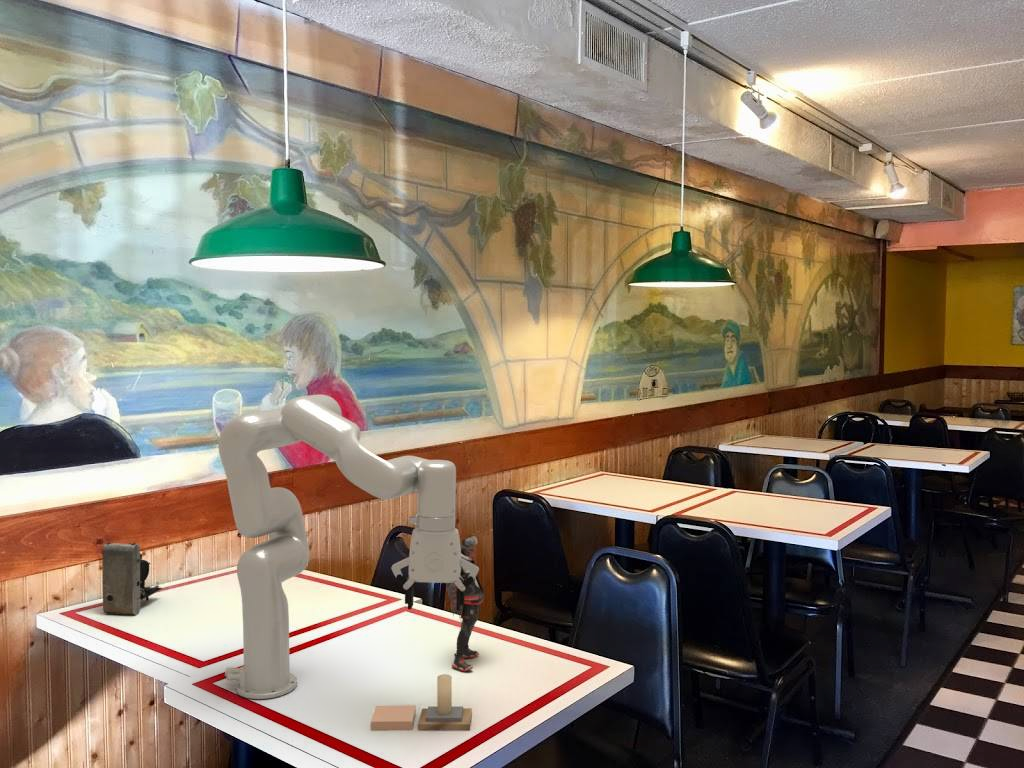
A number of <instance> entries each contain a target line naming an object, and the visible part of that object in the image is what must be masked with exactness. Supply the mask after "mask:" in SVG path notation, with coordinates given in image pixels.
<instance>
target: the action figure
mask: <svg viewBox="0 0 1024 768" xmlns="http://www.w3.org/2000/svg"><path fill="white" fill-rule="evenodd" d="M478 543H479V540H478V538H477V537H476V536H468V537H465V538H463V539H462V540H461V545H460V547H461V558H463V559H465V560H467V561H468V562H470V563H472V564H474V565H476V562H475V560H474V555H475V553H476V551H475V546H476V545H477V544H478ZM469 574H470V571H469V570H467V569H465V568H463V567H462V566H461V573H460V576H461V577H462V578H463V580H465V579H466V578H467V577H468V576H469ZM445 585H446V590H447V594H448V597H449V599H450V605H449V606H450V611H451V612H452V616H453V617H454V616H455V614H458V616H459V617H458V618H459V621H460V622H461V624H460V626H461V627H460V628H459V631H458V635H457V638H456V652H454V654H453V655H454V660H453V661H452V662H451V667H452V669H456V670H459V671H461V672H468V671H471V670H472V669H474V667H473V665H472V664H468V663H467V662H466V661H465V659H466V660H467V659H475V658H478V657H479V655H480V653H479V651H478V650H472V649H470V648H469V647H470V645H469V641H470V638H471V635H472V631H473V629H474V627H475V624H476V623H477V621H478V619H479V616H478V615H479V614H480V613H481V604H482V603H483V602H484V599H485V598H484V597H485V596H484V595H485V594H486V593H485V590H484V587H483V586H482V584H481V581H480V579H479V576H478V574H477V575H476V577H475V579H474V580H473V582H472V583H471V584H470V585H469V586H468V587H467V588H466V589H465V596H464V605H461V609H460V611H457V610H456V603H457V589H458V587H457V586H456V585H455V583H454V582H453V583H445Z"/></svg>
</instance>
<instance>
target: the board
mask: <svg viewBox="0 0 1024 768" xmlns="http://www.w3.org/2000/svg"><path fill="white" fill-rule="evenodd" d="M427 710H428V707H426V708H424V707H423V708H421V710H420V715H419V720H418V723H417V731H470V730H471V725H472V715H473V711H472V710H473V708H472V707H469V708H468V707H467V708H466V707H463V715H462V722H425V717H426V714H427Z"/></svg>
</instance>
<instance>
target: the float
mask: <svg viewBox="0 0 1024 768" xmlns="http://www.w3.org/2000/svg"><path fill="white" fill-rule="evenodd" d="M436 679H437V680H436V682H437V683H436V684H437V685H436V689H437V693H436V695H437V701H436V703H437V706H435V705H434V706H427V708H428V710H427V714H426V717H425V722H462V715H463V708H464V706H463V705H462V706H457V705H455V706H453V705H452V704H453V701H452V686H453V685H452V684H453V683H452V675H450V674H445V673H444V674H443V673H442V674H439V675H437V678H436Z"/></svg>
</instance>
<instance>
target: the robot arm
mask: <svg viewBox="0 0 1024 768" xmlns="http://www.w3.org/2000/svg"><path fill="white" fill-rule="evenodd" d="M360 440H361V428H360V427H359V426H358V425H357V423H355V422H353V421H351V420H349V419H348V418H346V417H343V415H342V409H341V406H340V405H339V403H338V401H336V400H335V399H334V398H333V397H331V396H329V395H327V394H326V395H325V394H312V395H303V396H301V395H300V396H296V397H294V398H291V399H290V400H288V401H287V402H286V403H285V404H284V406H283V407H281V408H275V409H274V408H273V409H268V410H267V409H265V410H256V411H250V412H245V413H242V414H240V415H237V416H235V417H233V418H232V419H230V420H229V421H228V422H227V423H226V424H225V426H224V427H223V428H222V430H221V432H220V434H219V437H218V455H219V457H220V458H219V459H220V461H221V464H222V467H223V470H224V474H225V477H226V482H227V488H228V489H227V490H228V494H229V498H230V504H231V508H232V515H233V519H234V522H235V523H234V524H235V526H236V529H237V532H238V534H240V535H241V536H242V537H244V538H246V539H257V538H260V537H264V536H267V535H268V537H269V539H268V540H265V541H261V542H260V543H257V544H255V545H252V546H251V547H249V548H248V549H246V550H244V552H242V554H241V555H240V557H239V559H238V561H237V564H236V565H237V566H236V575H237V579H238V580H237V581H238V584H239V588H240V594H241V607H242V628H243V629H242V632H243V633H242V640H243V641H242V642H243V666H240V667H226V668H225V671H224V676H225V677H226V680H227V681H237V682H238V683H237V684H236V692H237V694H238V695H240V696H241V697H243V698H247V699H253V700H264V699H265V700H267V699H273V698H277V697H280V696H285V695H286V694H288V693H290V692H292V691H294V689H296V687H297V685H298V677H297V676H296V675H295V674H293V673H291V672H290V671H291V669H290V668H291V667H290V619H289V618H290V616H289V615H290V614H289V602H288V598H287V595H286V593H285V591H284V588H283V584H282V583H283V582H285V581H287V580H289V579H291V578H294V577H296V576H297V575H299V574H301V573H302V572H304V571H305V570H306V568H307V567H308V564H309V562H310V547H309V546H310V545H309V541H308V535H307V531H306V525H305V521H304V514H303V510H302V506H301V504H300V502H299V499H298V497H296V495H295V494H294V493H293V492H292V491H291V490H289V489H288V488H285V487H281V486H280V487H278V486H277V487H271V484H270V479H269V472H268V470H267V468H266V466H265V463H264V462H263V461H262V459H261V458H260V457H259V456H258V453H259V452H261V451H266V450H272V449H278V448H281V447H282V448H283V447H288V446H291V445H293V444H298V443H300V442H304V443H305V444H307V445H309V446H310V447H311V448H314V449H315V450H317V451H318V452H320V453H322V454H324V455H325V456H327V457H329V458H330V459H331V460H334V462H335V464H336V466H337V468H338V469H339V471H340V472H341V473H342V474H343V476H344V477H345V478H346V479H347V481H349V482H350V483H352V484H353V485H354V486H356V487H358V488H360V489H361V490H362V491H365V492H366V493H368V494H370V495H371V496H373V497H375V498H378V499H381V500H387V501H388V500H389V501H391V500H394V499H396V498H397V499H398V498H400V497H402V496H406V495H410V494H413V493H417V494H416V495H417V498H416V499H417V502H416V503H417V504H416V505H417V509H416V514H415V515H413V516H409V524H412V525H415V526H416V527H415V528H413V530H412V533H411V537H410V544H409V545H410V546H409V555H408V557H406V558H403V559H402V560H400V561H397V562H396V563H394V564H392V566H391V571H392V573H393V575H394V576H395V579H396V581H397V582H398V583H399V584H400V585H401V586H402V588H403V589H404V604H405V605H407V610H408V611H409V610H410V611H411V609H413V606H414V592H415V591H414V587H415V586H413V584H414V583H415V582H416V583H433V584H436V583H438V584H439V583H440V584H446V583H453V582H454V583H455V585H456V587H457V603H456V610H457V611H459V612H460V611H461V608H462V605H464V596H465V589H466V588H467V587H468V586H469V585H470V584H471V583H472V582H473V580H474V579H475V577H476V575H477V576H478V573H479V571H480V568H479V566H477V565H476V564H475V565H474V564H472V563H470V562H468V561H467V560H465V559H463V558H461V540H460V533H459V529H457V528H456V494H457V493H456V492H457V490H456V488H457V468H456V465H455V463H453V462H452V461H451V460H450V461H449V460H445V459H427V458H424V457H423V458H422V457H419V456H415V455H403V456H398V457H395V458H392V459H391V458H390V459H387V460H386V459H384V458H382V457H380V456H378V455H376V454H375V453H373V452H371V451H370V450H368V449H367V448H365V447H364V446H363V445H362V444H361V443H360ZM461 566H462V567H463V568H465V569H467V570H469V571H470V574H469V576H468V577H467V578H466V579H465V580H463V578H462V577H461V576H460V573H461ZM405 567H408V577H407V576H405V575H404V574H403V573H402V570H401V569H403V568H405Z"/></svg>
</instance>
